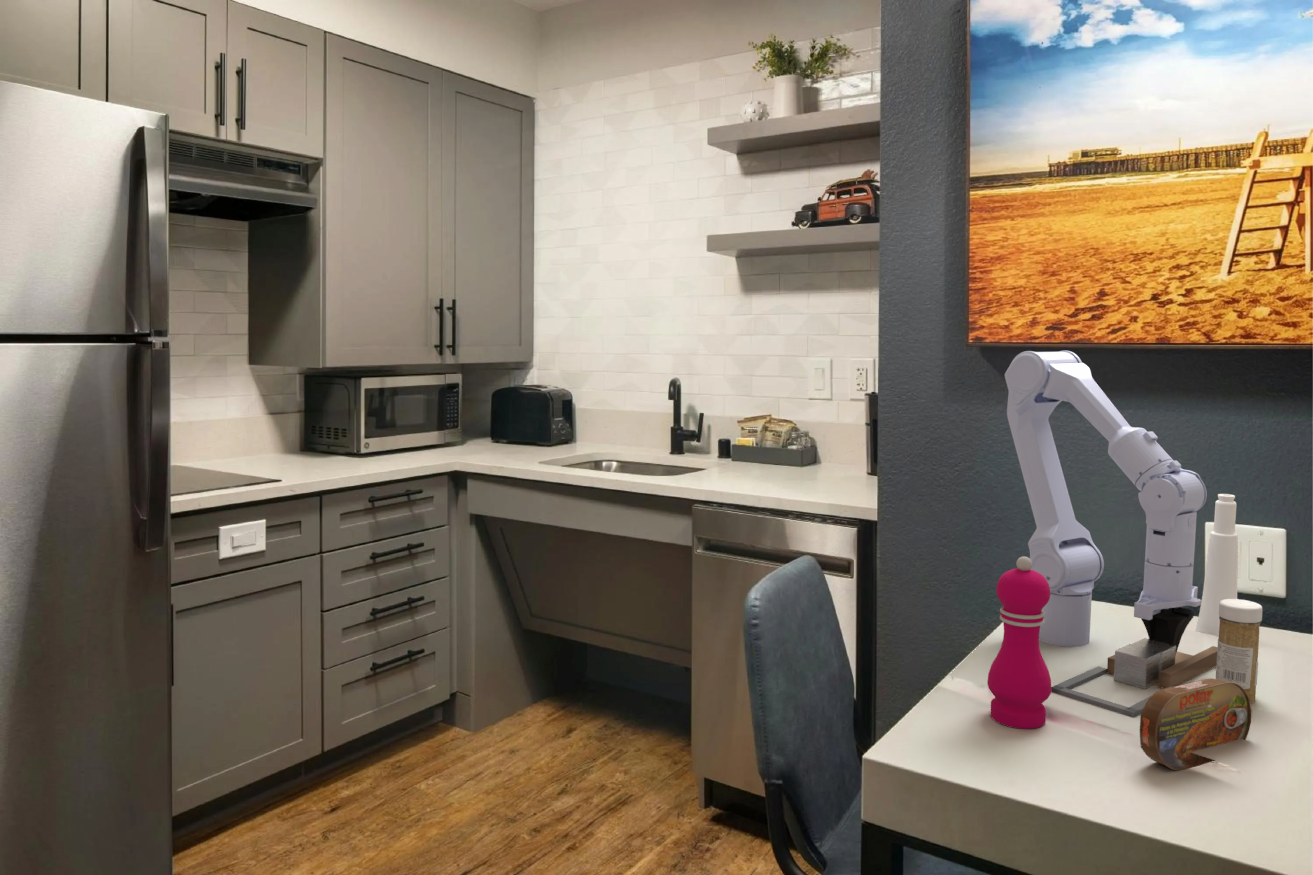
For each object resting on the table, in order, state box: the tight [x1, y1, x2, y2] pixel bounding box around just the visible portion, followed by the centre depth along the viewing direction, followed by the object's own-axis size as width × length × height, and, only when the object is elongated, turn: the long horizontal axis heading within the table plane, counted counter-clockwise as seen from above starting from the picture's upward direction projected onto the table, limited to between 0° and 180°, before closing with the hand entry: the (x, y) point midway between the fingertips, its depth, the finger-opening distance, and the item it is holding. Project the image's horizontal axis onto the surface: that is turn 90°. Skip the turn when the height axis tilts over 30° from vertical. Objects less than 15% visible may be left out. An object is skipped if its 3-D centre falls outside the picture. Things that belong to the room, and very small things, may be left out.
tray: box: [1051, 665, 1172, 718], centre depth 120 cm, size 10×12×2 cm
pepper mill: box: [987, 556, 1052, 730], centre depth 114 cm, size 7×7×20 cm
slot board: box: [1106, 645, 1218, 689], centre depth 128 cm, size 8×16×4 cm, turn 129°
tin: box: [1139, 678, 1252, 771], centre depth 104 cm, size 15×3×8 cm, turn 114°
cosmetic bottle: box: [1194, 493, 1239, 638], centre depth 145 cm, size 6×6×22 cm
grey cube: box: [1131, 637, 1176, 682], centre depth 125 cm, size 4×4×4 cm
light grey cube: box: [1113, 643, 1161, 690], centre depth 123 cm, size 4×4×4 cm
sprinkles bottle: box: [1215, 598, 1263, 704], centre depth 118 cm, size 5×5×13 cm
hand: (1163, 661), depth 128 cm, fingers closed
